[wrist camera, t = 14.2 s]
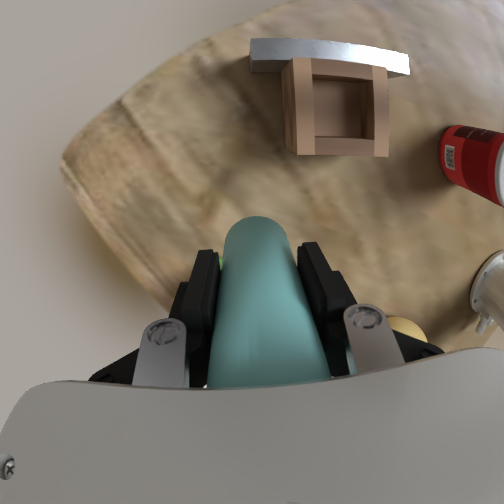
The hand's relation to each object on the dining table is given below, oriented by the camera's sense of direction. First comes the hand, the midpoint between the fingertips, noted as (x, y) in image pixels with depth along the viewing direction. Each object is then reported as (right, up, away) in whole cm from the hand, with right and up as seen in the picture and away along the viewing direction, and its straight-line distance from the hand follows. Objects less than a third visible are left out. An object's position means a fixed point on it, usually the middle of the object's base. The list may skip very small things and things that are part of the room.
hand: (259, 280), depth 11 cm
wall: (+6, +20, +12) cm, 24 cm away
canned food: (+26, +14, +16) cm, 33 cm away
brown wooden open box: (+7, +16, +14) cm, 22 cm away
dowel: (0, +1, +3) cm, 3 cm away
